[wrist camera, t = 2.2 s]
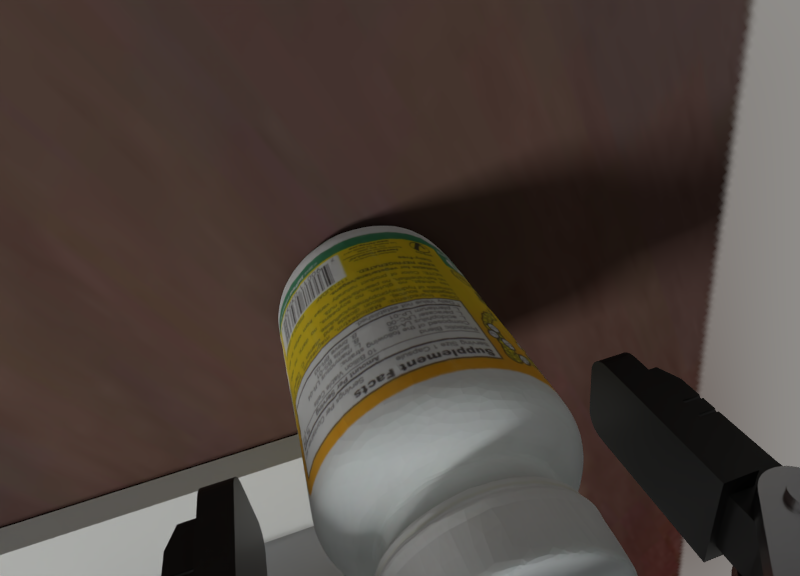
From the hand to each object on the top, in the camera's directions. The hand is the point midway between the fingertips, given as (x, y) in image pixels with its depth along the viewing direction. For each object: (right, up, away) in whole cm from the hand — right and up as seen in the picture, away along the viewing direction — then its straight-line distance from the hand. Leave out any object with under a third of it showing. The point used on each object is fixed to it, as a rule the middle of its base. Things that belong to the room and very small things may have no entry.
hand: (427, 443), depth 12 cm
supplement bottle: (-2, +3, +4) cm, 5 cm away
